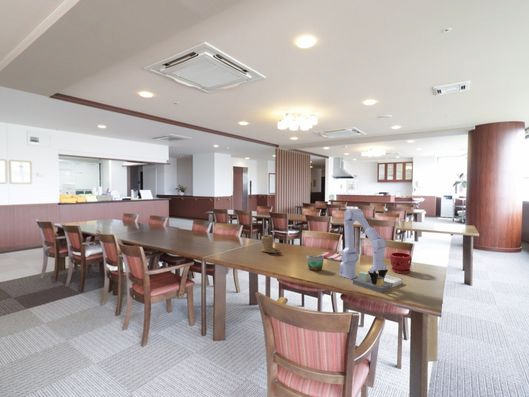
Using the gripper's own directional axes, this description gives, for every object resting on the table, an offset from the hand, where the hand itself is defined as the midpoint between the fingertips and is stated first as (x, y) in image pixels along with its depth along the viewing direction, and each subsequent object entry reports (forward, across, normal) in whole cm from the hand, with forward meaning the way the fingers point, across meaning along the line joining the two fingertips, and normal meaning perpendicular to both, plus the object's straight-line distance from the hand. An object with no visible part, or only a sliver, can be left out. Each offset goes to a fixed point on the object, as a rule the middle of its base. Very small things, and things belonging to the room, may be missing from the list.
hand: (377, 282), depth 161 cm
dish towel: (+4, +35, +58) cm, 67 cm away
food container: (+4, -3, +44) cm, 45 cm away
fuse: (+3, 0, +9) cm, 10 cm away
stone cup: (+4, +4, +104) cm, 104 cm away
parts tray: (+3, +14, +4) cm, 15 cm away
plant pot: (+4, +41, +8) cm, 42 cm away
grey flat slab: (+3, 0, +4) cm, 6 cm away
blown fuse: (+3, 0, 0) cm, 3 cm away
